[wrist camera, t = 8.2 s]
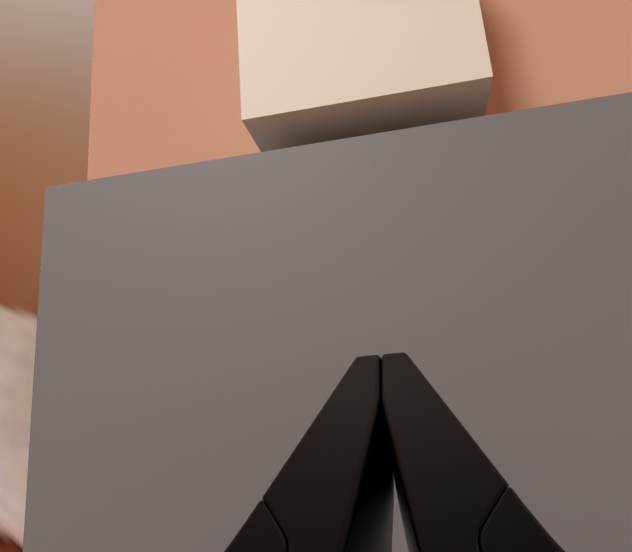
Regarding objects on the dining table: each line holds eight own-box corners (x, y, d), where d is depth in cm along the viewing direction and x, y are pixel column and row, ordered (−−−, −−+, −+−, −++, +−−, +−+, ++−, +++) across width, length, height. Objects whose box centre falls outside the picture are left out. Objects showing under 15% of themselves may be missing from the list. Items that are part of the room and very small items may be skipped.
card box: (493, 76, 14) (450, -151, 16) (241, 120, 15) (232, -98, 17) (477, 147, 18) (445, -44, 20) (276, 178, 19) (265, -6, 21)
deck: (830, 644, 13) (991, 735, 10) (105, 649, 17) (12, 719, 13) (688, 146, 17) (765, 70, 13) (115, 229, 20) (45, 186, 16)
